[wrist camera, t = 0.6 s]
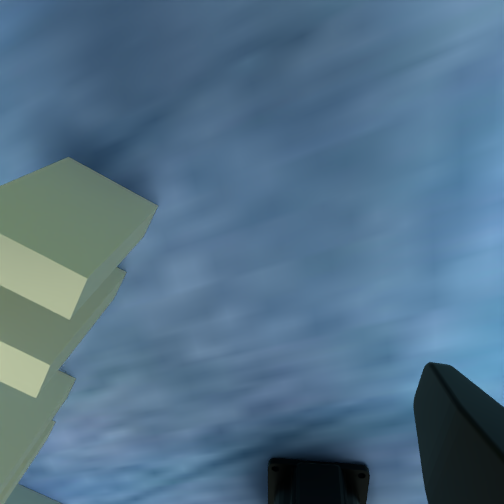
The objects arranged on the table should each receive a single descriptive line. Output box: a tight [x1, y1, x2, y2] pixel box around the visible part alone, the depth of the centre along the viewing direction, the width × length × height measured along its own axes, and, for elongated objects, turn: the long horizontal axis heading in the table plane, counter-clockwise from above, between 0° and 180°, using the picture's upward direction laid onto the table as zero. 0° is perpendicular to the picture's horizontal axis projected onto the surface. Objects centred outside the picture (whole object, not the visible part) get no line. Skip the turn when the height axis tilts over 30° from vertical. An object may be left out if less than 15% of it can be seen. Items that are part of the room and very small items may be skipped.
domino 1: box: [0, 157, 158, 320], centre depth 19 cm, size 2×5×8 cm, turn 61°
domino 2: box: [0, 267, 126, 398], centre depth 20 cm, size 2×5×8 cm, turn 61°
